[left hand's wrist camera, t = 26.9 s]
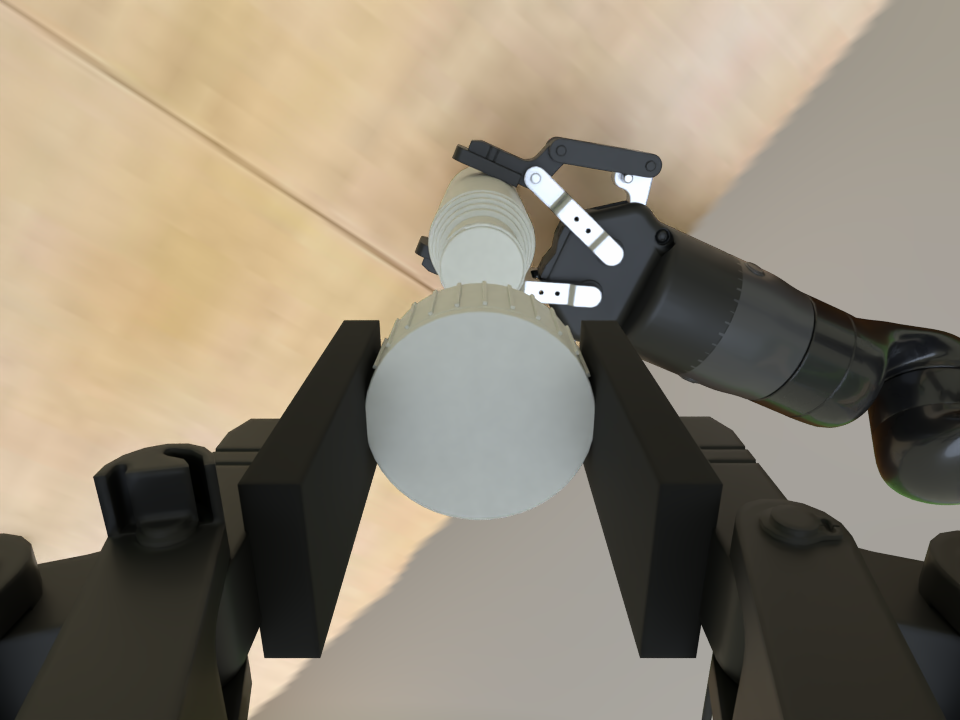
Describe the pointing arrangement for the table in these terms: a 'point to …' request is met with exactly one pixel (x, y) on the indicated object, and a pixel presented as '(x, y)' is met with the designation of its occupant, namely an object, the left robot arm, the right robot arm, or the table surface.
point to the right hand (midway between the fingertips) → (437, 198)
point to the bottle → (481, 233)
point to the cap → (480, 403)
